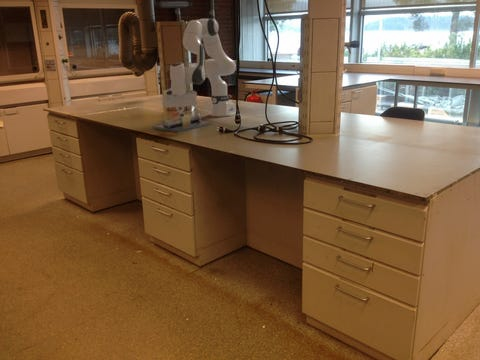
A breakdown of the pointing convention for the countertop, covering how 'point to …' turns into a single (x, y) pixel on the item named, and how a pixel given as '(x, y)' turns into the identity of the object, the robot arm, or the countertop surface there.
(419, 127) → the countertop surface
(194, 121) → the valve assembly
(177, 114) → the lever
